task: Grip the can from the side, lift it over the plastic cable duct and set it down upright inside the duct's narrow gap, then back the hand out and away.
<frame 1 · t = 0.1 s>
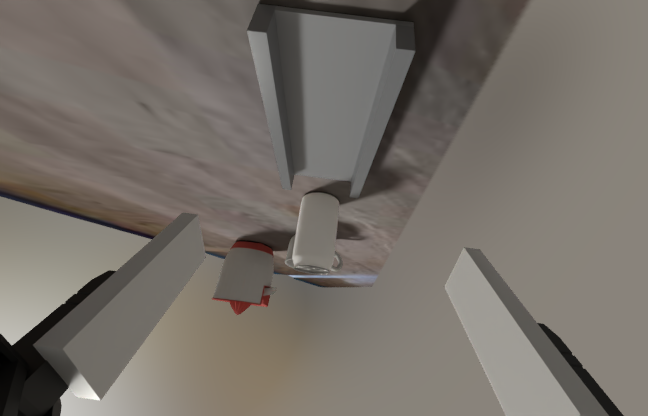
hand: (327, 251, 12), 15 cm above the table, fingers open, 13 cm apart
citrus juicer: (256, 245, 76), on the table
teacup: (318, 235, 60), on the table
can: (321, 198, 42), on the table
cable duct: (327, 123, 25), on the table
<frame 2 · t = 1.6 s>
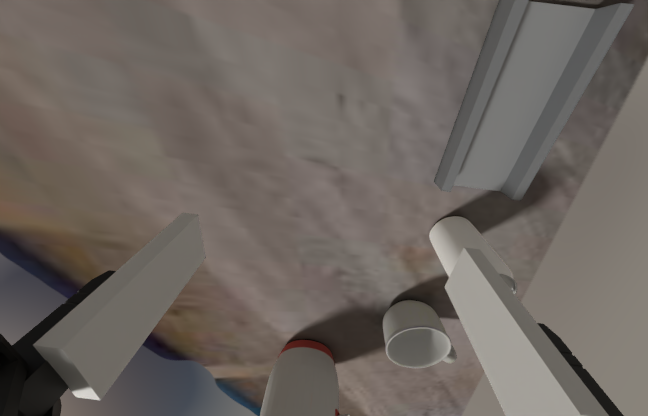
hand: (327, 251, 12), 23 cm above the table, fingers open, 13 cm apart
citrus juicer: (311, 352, 57), on the table
teacup: (412, 312, 48), on the table
can: (449, 231, 38), on the table
cable duct: (504, 111, 29), on the table
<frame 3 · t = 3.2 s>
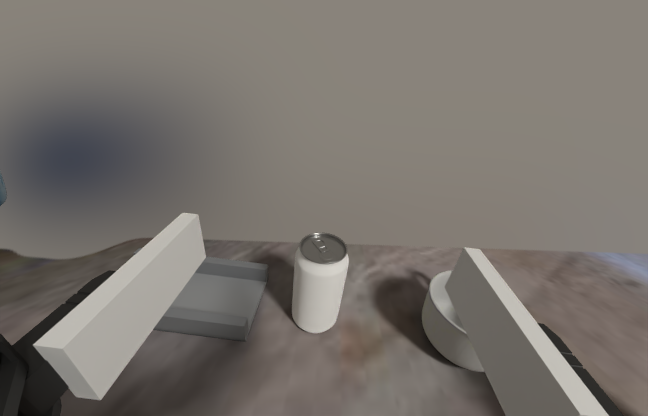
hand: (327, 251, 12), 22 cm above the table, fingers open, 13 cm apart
teacup: (455, 332, 34), on the table
can: (314, 314, 34), on the table
cable duct: (188, 296, 34), on the table
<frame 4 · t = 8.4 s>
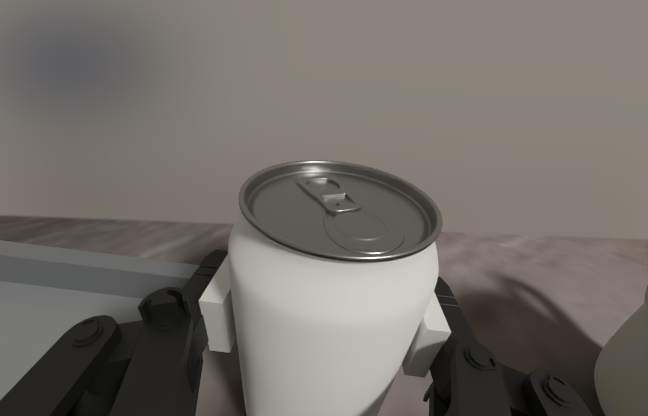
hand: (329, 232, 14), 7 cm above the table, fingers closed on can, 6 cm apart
can: (309, 395, 13), on the table, touching gripper
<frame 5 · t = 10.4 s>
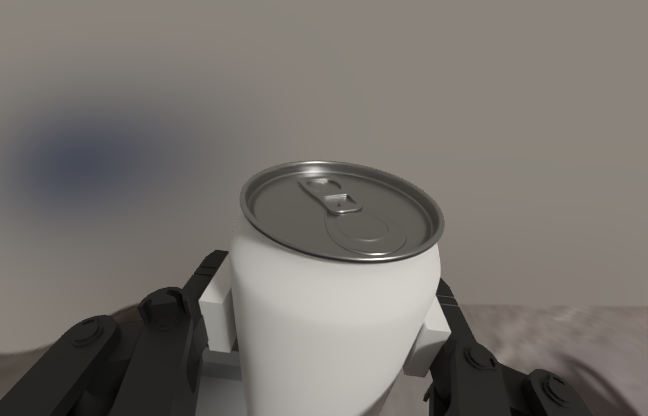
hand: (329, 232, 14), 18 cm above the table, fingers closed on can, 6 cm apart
can: (310, 396, 13), point 11 cm above the table, touching gripper
when the fingers open (9 cm above the table, at t = 12.9 s): can drops 1 cm, resting on cable duct.
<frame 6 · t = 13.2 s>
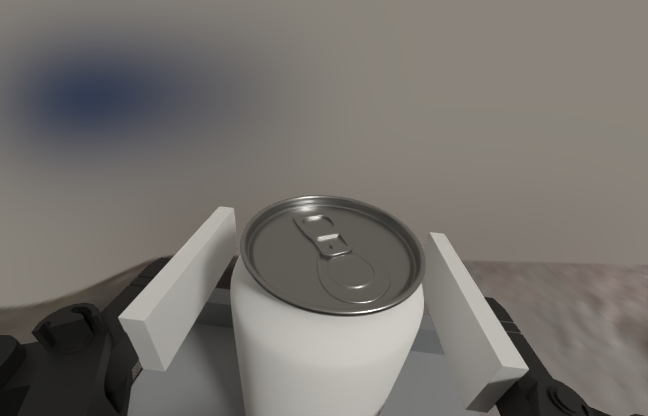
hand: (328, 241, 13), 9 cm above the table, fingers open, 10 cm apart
can: (308, 410, 14), resting on cable duct
cable duct: (307, 410, 14), on the table
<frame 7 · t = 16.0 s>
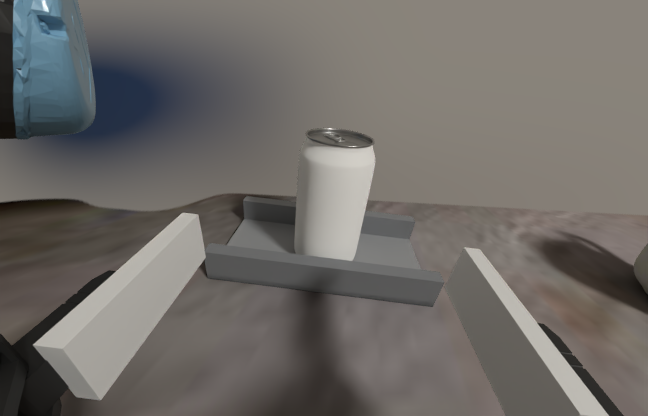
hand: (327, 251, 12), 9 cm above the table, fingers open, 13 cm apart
can: (324, 252, 26), resting on cable duct
cable duct: (323, 253, 26), on the table
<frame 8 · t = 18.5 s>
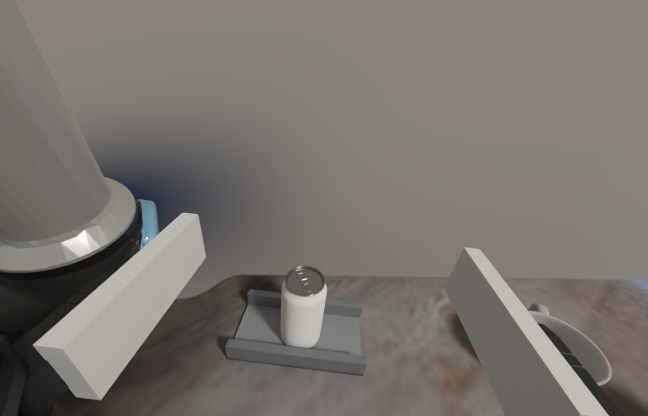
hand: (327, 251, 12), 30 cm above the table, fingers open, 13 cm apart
teacup: (529, 363, 40), on the table
can: (300, 333, 40), resting on cable duct
cable duct: (300, 333, 40), on the table
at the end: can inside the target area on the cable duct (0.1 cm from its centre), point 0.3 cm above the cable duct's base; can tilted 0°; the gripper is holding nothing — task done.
